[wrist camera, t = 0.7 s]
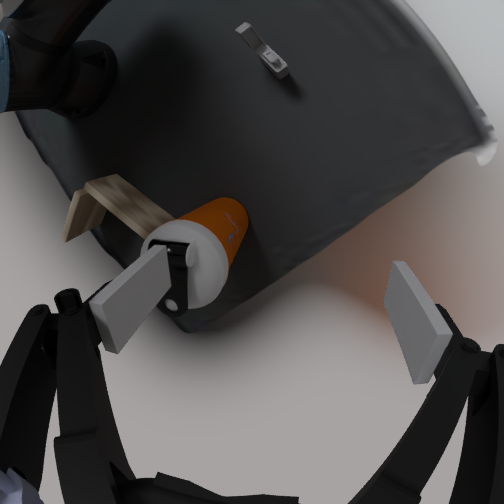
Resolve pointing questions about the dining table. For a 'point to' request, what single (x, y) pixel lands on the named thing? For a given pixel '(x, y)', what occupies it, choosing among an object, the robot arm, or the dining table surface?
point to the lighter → (263, 51)
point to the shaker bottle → (199, 253)
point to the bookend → (112, 208)
